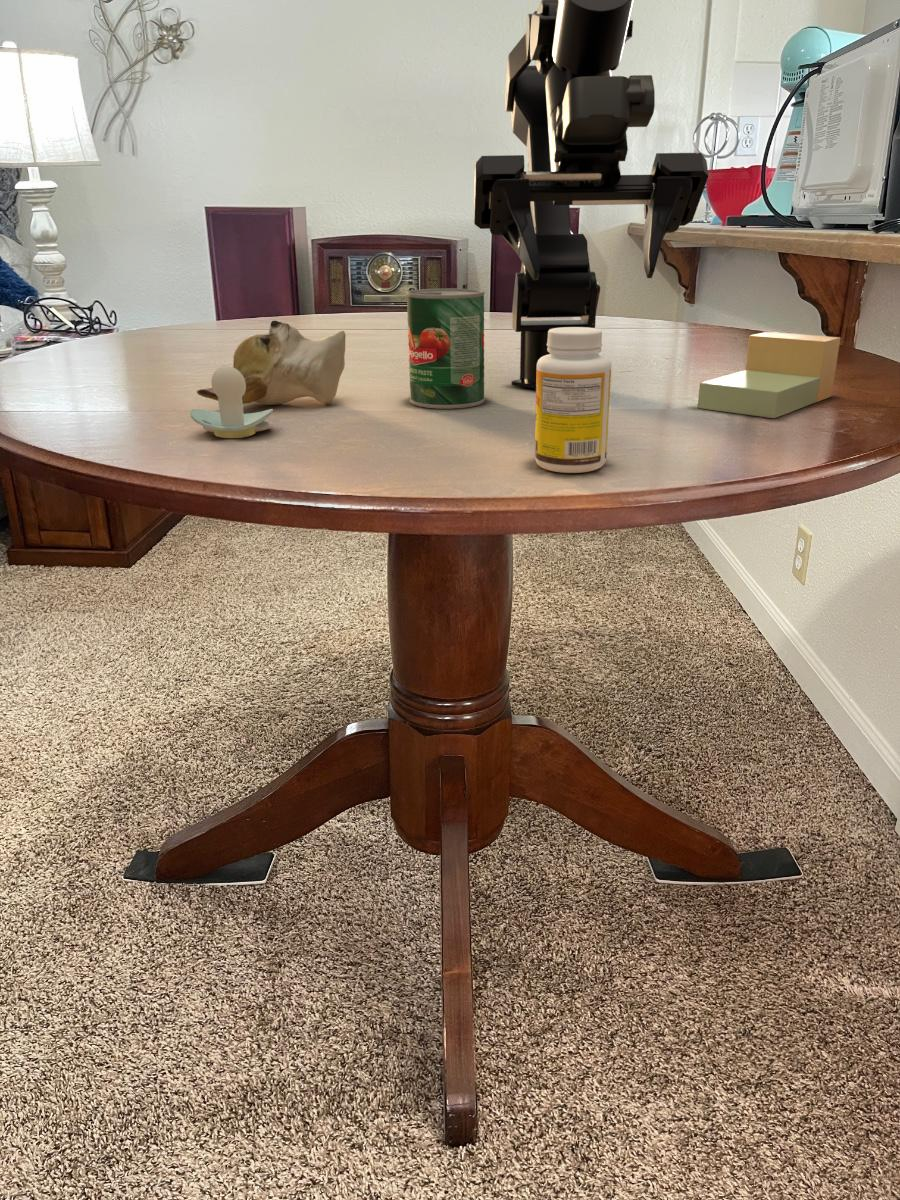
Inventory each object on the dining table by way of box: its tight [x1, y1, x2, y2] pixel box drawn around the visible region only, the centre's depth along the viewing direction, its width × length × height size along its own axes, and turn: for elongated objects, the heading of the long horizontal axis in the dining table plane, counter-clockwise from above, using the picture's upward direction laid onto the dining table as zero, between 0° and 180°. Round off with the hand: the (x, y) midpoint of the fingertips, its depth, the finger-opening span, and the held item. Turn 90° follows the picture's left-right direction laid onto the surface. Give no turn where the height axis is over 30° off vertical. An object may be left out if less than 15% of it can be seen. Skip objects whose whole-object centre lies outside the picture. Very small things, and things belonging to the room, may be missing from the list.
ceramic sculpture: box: [196, 320, 347, 406], centre depth 92 cm, size 11×9×15 cm
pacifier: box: [189, 365, 274, 439], centre depth 80 cm, size 7×6×6 cm
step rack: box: [697, 331, 841, 419], centre depth 90 cm, size 8×14×6 cm, turn 138°
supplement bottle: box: [534, 327, 612, 474], centre depth 67 cm, size 6×6×10 cm
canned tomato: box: [405, 287, 486, 410], centre depth 91 cm, size 8×8×11 cm
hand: (593, 275), depth 71 cm, fingers open, 9 cm apart
